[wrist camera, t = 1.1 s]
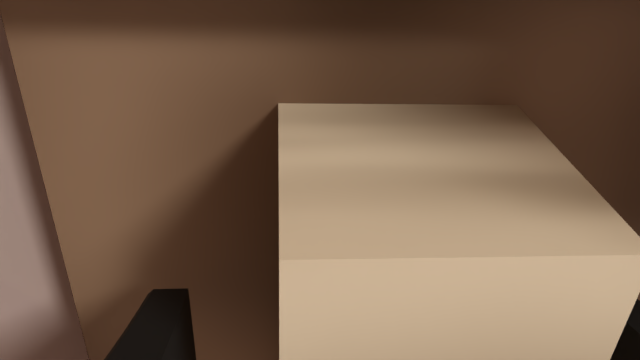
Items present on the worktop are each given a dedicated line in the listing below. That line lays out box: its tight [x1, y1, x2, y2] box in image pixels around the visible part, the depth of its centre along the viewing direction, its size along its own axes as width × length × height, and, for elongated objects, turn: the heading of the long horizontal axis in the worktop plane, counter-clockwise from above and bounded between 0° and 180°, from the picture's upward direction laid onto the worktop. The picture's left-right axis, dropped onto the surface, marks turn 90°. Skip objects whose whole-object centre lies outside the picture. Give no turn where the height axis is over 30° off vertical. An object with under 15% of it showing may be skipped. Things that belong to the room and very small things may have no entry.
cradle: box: [0, 0, 640, 360], centre depth 8 cm, size 12×20×4 cm, turn 178°
